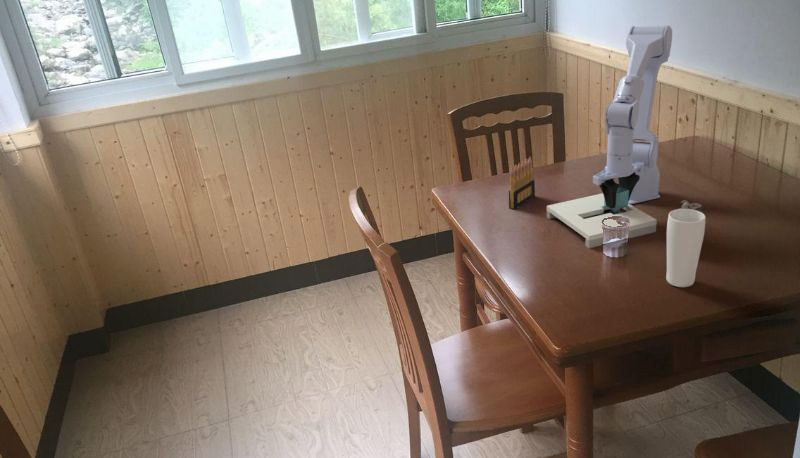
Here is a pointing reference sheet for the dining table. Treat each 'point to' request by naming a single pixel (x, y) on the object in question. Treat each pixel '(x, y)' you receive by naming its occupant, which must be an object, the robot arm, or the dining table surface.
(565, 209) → the keyhole plate
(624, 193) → the peg
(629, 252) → the dining table surface
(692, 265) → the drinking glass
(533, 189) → the ammunition clip
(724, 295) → the dining table surface
